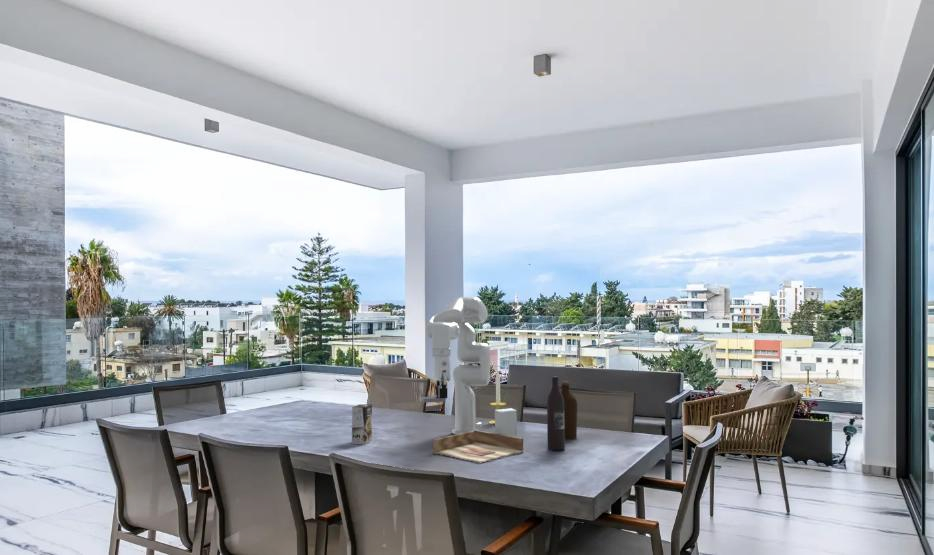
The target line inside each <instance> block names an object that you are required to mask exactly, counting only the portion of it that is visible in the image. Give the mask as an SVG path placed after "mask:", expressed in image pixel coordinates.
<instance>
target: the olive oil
mask: <svg viewBox="0 0 934 555" xmlns="http://www.w3.org/2000/svg"><path fill="white" fill-rule="evenodd" d="M560 392H561V393H562V396H563V399H564V428H565V440H574V439H576V438H577V436H578V435H577V428H578V425H577V424H578V399H577V398H576V396H575V395H574V393H572V392H571V391H570V382H569V381H567V380H564V381H561V389H560ZM573 438H574V439H573Z"/></svg>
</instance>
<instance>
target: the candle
mask: <svg viewBox="0 0 934 555" xmlns="http://www.w3.org/2000/svg"><path fill="white" fill-rule="evenodd" d="M489 405H490V406H494V407H495V410H499V409H501V408H502V407H501V406H506V405H507V403H506V402H504V401H503V402H501V374H500V373H499V370H497V372H496V374H495V402H490V403H489ZM489 423H490V425H493V424H495V420H490V421H488V424H489Z"/></svg>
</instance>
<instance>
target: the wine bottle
mask: <svg viewBox="0 0 934 555" xmlns="http://www.w3.org/2000/svg"><path fill="white" fill-rule="evenodd" d="M559 379H560V378H559V376H556V375H555V376H553V375H552V376H551V381H552V382H551V383H552V385H551V389H550V392H549V394H548V396H547V398H546V416H547V417H546V419H547V421H546V424H547V426H546V427H547V428H546V429H547V438H546V439H547V450H549V451H552V452H562V451H563V450H565V448H566V446H565V444H566V443H565V441H566V439H565V428H564V399H563V396H562V393H561V389H560V388H559V381H560V380H559ZM561 450H562V451H561Z"/></svg>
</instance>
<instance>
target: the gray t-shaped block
mask: <svg viewBox="0 0 934 555" xmlns="http://www.w3.org/2000/svg"><path fill="white" fill-rule="evenodd" d="M439 388H440V385H437V391H438V396H436V395H435V396H421V397H420V401H421V402H422V403H445V402H446V401H447V400H446V399H447V398H440V397H439Z"/></svg>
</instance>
